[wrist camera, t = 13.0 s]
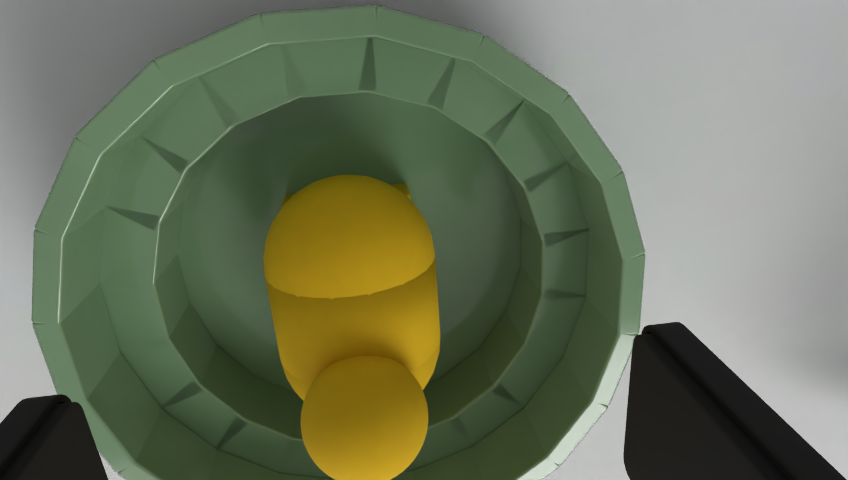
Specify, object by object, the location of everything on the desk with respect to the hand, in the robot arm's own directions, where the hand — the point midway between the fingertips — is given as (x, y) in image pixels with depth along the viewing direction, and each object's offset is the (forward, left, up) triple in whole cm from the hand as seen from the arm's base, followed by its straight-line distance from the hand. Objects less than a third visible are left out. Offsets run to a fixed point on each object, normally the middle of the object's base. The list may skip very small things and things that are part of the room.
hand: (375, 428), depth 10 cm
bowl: (0, 0, -9) cm, 9 cm away
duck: (0, 0, -8) cm, 8 cm away
